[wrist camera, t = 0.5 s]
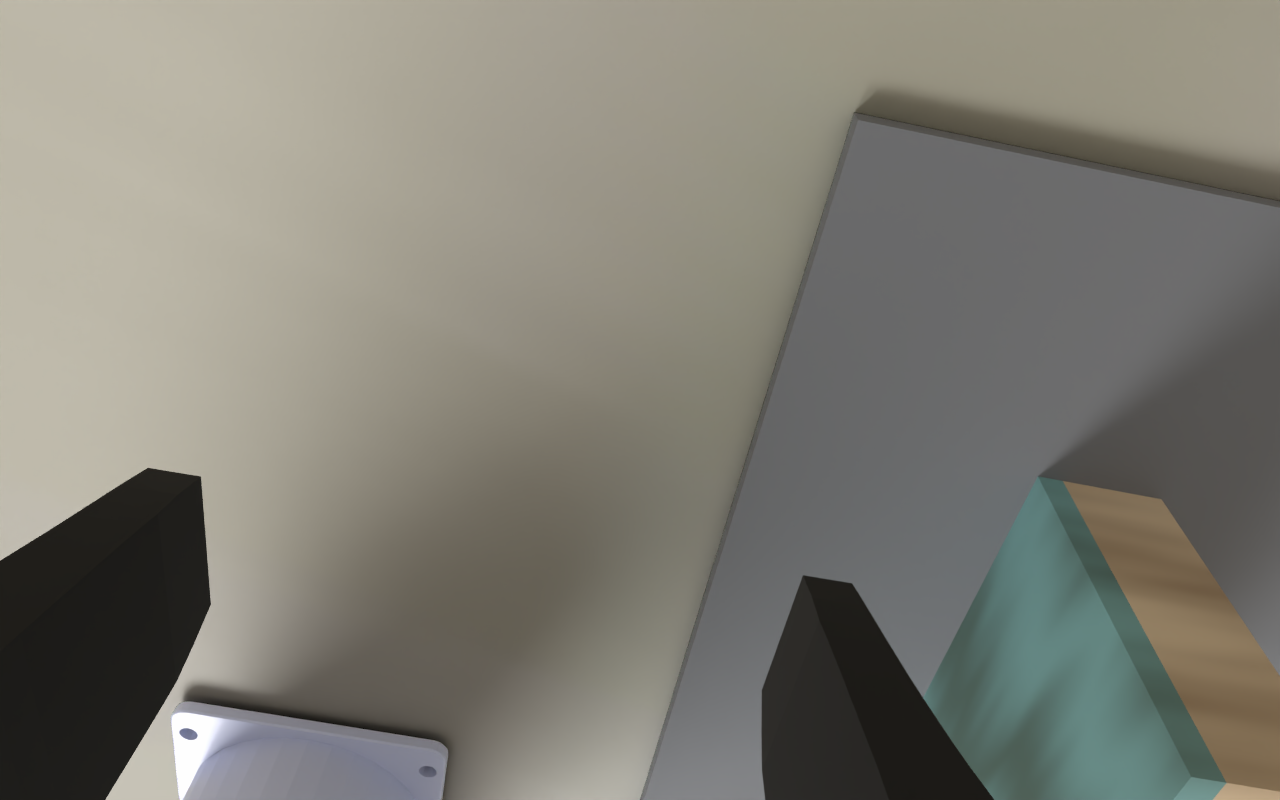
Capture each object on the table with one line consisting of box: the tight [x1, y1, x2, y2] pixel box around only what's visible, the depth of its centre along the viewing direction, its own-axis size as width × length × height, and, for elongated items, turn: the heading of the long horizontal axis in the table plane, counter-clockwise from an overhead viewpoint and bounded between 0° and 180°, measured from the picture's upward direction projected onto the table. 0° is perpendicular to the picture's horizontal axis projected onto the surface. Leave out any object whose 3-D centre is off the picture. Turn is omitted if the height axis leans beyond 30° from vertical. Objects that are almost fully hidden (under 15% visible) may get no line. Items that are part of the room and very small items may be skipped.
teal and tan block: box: [923, 476, 1280, 800], centre depth 22 cm, size 10×3×8 cm, turn 169°
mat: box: [640, 112, 1280, 800], centre depth 25 cm, size 24×20×1 cm
